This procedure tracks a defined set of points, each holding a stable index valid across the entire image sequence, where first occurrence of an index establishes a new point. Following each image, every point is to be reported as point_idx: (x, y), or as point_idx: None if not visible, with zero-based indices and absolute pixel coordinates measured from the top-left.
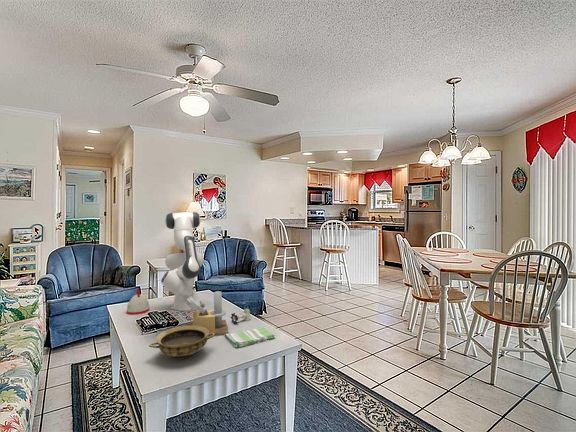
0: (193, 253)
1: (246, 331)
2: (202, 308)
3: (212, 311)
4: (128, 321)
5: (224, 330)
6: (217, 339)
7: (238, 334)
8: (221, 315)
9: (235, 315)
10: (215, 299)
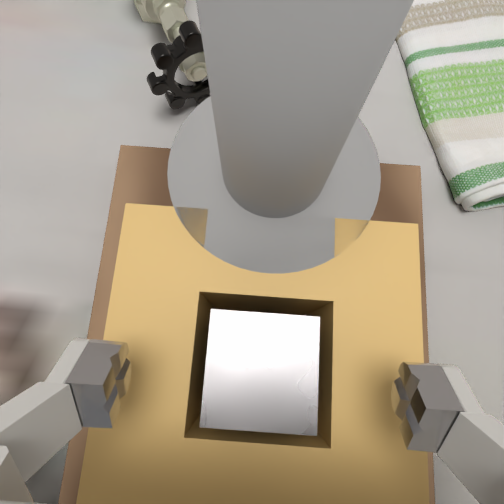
0: None
1: (437, 48)
2: (479, 426)
3: (195, 231)
4: None
5: (384, 190)
6: (488, 268)
7: (471, 108)
8: (369, 144)
9: None
10: (388, 40)
